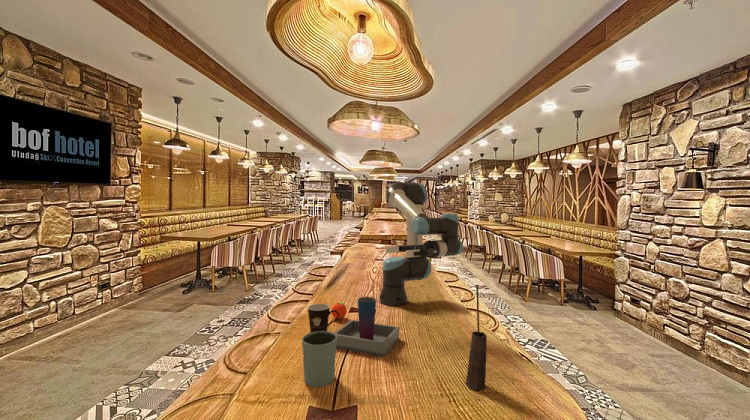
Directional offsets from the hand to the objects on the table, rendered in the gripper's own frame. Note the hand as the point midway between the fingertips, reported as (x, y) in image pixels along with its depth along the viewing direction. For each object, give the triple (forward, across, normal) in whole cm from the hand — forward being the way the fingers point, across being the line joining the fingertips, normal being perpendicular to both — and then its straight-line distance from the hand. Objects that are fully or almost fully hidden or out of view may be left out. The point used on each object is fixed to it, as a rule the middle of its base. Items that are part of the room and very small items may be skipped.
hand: (395, 252), depth 126 cm
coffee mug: (+26, +14, -32) cm, 44 cm away
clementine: (+12, +24, -32) cm, 42 cm away
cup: (+16, -4, -31) cm, 35 cm away
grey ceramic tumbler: (+40, -17, -32) cm, 54 cm away
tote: (+16, -4, -32) cm, 36 cm away
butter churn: (+4, -45, -32) cm, 55 cm away
